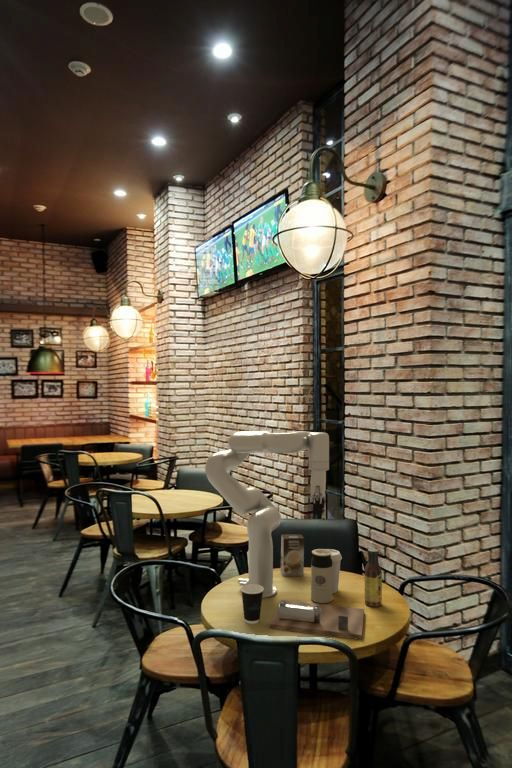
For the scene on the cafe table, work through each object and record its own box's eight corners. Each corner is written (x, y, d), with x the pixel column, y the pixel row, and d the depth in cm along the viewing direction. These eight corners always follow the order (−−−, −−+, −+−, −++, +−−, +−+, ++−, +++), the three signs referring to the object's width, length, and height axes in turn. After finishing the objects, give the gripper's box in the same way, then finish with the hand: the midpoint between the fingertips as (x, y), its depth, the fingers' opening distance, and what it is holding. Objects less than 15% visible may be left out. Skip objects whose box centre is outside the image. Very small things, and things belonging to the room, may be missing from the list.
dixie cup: (249, 613, 179) (250, 582, 180) (268, 619, 175) (268, 587, 175) (235, 621, 173) (235, 589, 173) (254, 628, 168) (254, 594, 168)
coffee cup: (345, 588, 203) (345, 551, 203) (335, 596, 195) (336, 557, 195) (323, 583, 208) (323, 547, 208) (313, 591, 200) (313, 553, 200)
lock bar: (279, 618, 171) (279, 603, 171) (280, 615, 174) (280, 600, 174) (319, 623, 168) (319, 607, 168) (320, 619, 170) (320, 604, 170)
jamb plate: (269, 628, 168) (269, 610, 168) (281, 604, 188) (281, 587, 188) (361, 639, 161) (361, 620, 161) (363, 613, 180) (364, 596, 180)
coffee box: (282, 576, 216) (283, 538, 216) (280, 571, 222) (280, 534, 222) (304, 575, 217) (304, 538, 217) (300, 570, 223) (301, 533, 223)
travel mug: (316, 593, 197) (316, 547, 198) (335, 598, 193) (335, 550, 194) (307, 601, 191) (307, 552, 191) (327, 605, 186) (327, 556, 187)
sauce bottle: (382, 608, 184) (382, 553, 185) (364, 606, 186) (364, 552, 186) (381, 601, 191) (381, 548, 191) (364, 599, 192) (364, 547, 192)
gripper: (311, 462, 199) (311, 506, 199) (306, 468, 182) (306, 516, 182) (330, 462, 198) (330, 506, 197) (327, 469, 181) (327, 517, 180)
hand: (318, 511), depth 190 cm, fingers open, 9 cm apart
